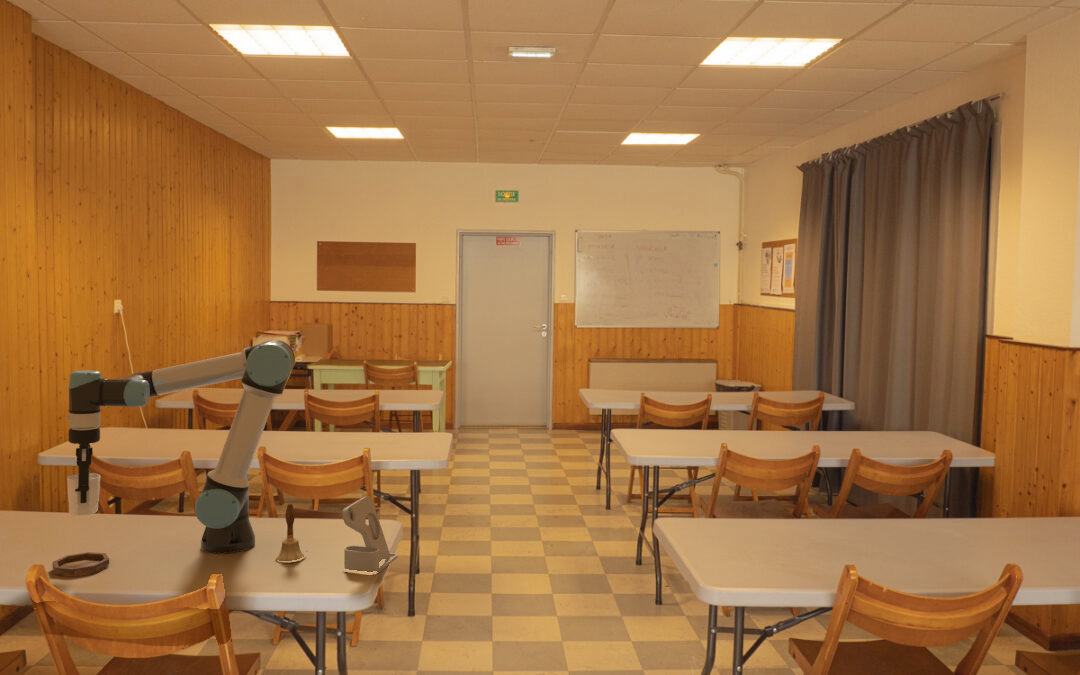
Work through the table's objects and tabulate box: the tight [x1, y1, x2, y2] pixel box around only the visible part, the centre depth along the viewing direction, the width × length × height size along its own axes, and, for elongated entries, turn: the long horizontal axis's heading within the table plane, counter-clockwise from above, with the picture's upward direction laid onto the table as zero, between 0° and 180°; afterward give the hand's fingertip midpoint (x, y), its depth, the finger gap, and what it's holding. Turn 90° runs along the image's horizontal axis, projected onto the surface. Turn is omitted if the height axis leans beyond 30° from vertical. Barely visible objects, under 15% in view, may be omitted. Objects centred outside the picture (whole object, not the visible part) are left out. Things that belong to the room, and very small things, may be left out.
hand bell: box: [275, 503, 305, 561], centre depth 235 cm, size 8×8×16 cm
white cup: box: [66, 472, 101, 517], centre depth 223 cm, size 8×8×10 cm
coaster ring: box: [52, 551, 110, 577], centre depth 224 cm, size 13×13×2 cm
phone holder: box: [341, 495, 399, 573], centre depth 231 cm, size 17×10×18 cm, turn 168°
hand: (83, 510), depth 224 cm, fingers closed on white cup, 7 cm apart
